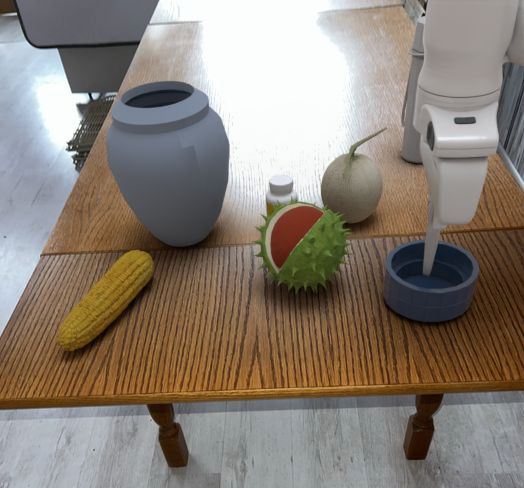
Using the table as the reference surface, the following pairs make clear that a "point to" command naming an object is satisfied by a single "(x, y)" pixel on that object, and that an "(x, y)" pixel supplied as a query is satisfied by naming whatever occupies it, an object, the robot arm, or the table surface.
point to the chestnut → (302, 244)
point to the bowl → (429, 281)
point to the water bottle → (413, 98)
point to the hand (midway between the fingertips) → (436, 218)
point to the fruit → (352, 185)
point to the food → (106, 300)
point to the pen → (430, 241)
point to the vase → (169, 159)
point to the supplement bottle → (280, 192)
